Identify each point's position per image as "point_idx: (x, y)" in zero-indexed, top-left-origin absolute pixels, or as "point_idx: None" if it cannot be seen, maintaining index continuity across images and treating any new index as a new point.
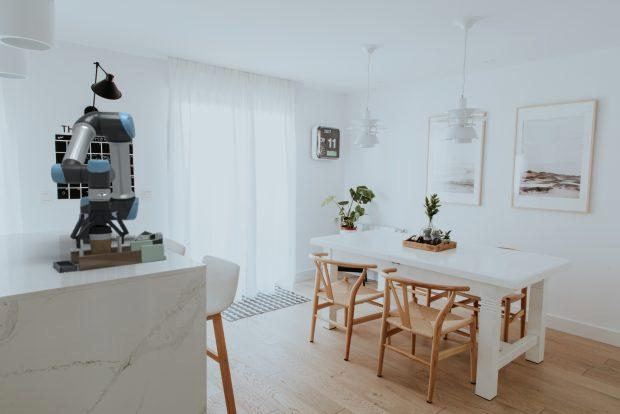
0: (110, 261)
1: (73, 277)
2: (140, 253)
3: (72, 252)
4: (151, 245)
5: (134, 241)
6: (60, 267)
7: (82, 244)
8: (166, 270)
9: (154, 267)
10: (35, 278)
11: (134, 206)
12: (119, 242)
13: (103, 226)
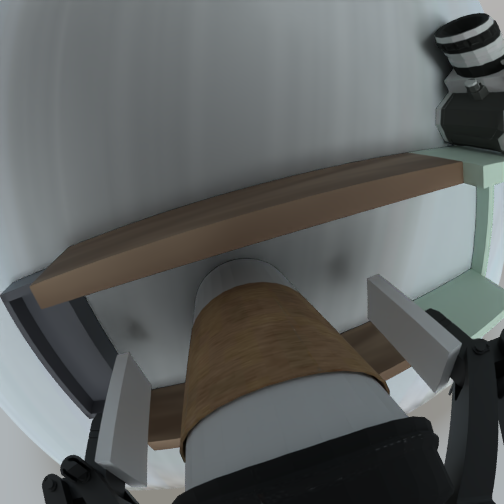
0: None
1: (162, 450)
2: None
3: (48, 305)
4: (486, 331)
5: (477, 38)
6: (87, 414)
7: (143, 458)
8: (404, 408)
9: (402, 382)
10: (56, 424)
11: None
12: (409, 363)
13: (410, 501)
